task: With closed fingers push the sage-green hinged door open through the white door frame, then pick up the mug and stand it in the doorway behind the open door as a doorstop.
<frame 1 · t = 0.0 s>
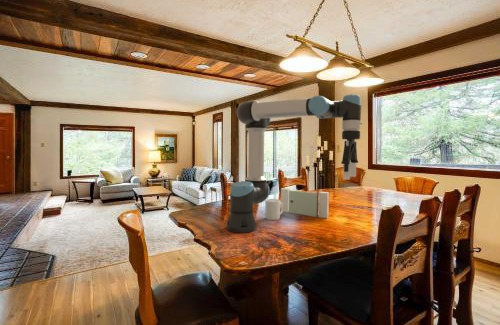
hand: (349, 178, 120), 28 cm above the table, fingers open, 13 cm apart
wall frame: (303, 214, 166), on the table
mug: (274, 218, 157), on the table
door: (302, 202, 163), point 8 cm above the table, hinge at 0.0°
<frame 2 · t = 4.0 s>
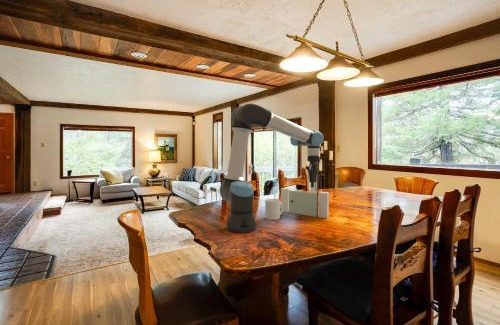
hand: (312, 192, 169), 13 cm above the table, fingers closed
nothing on the table moved.
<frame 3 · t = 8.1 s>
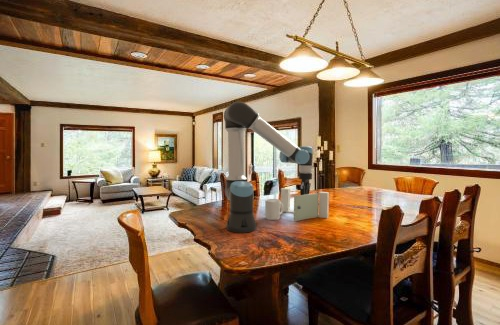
hand: (304, 211, 158), 3 cm above the table, fingers closed
door: (307, 206, 153), point 8 cm above the table, hinge at 65.2°, touching hand
everything else where it was.
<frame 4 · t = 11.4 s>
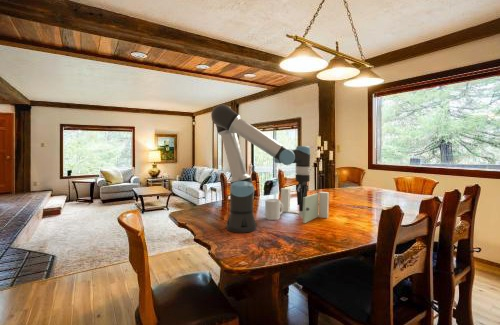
hand: (301, 216, 147), 3 cm above the table, fingers closed
door: (312, 207, 151), point 8 cm above the table, hinge at 84.6°, touching gripper
everything else where it was.
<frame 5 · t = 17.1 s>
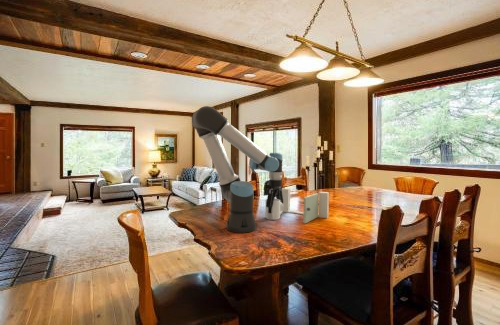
hand: (274, 216, 157), 1 cm above the table, fingers closed on mug, 10 cm apart
mug: (275, 218, 157), on the table, touching gripper
door: (312, 207, 151), point 8 cm above the table, hinge at 86.1°
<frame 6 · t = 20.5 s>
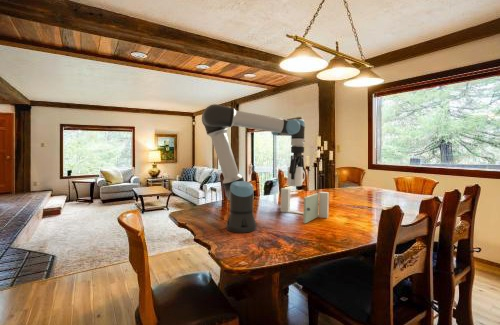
hand: (296, 183, 156), 20 cm above the table, fingers closed on mug, 10 cm apart
mug: (297, 185, 157), point 19 cm above the table, touching gripper
everything else where it was.
when the fingers open (3 cm above the table, at t = 24.1 s): mug drops 2 cm, on the table.
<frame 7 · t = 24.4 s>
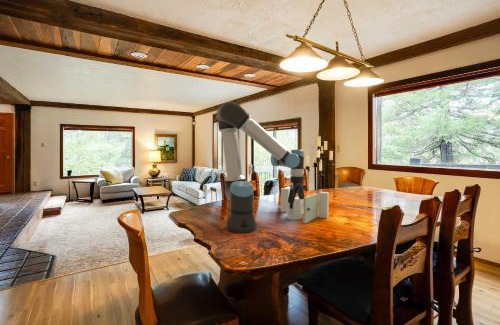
hand: (296, 211, 157), 4 cm above the table, fingers open, 13 cm apart
mug: (296, 218, 158), on the table
everything else where it was.
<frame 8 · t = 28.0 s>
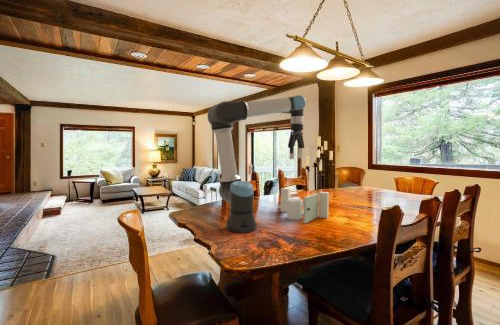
hand: (296, 158, 163), 35 cm above the table, fingers open, 13 cm apart
nothing on the table moved.
at the end: door at +86° (first picture: +0°); mug inside the target area (0.1 cm from its centre), on the table; mug tilted 0° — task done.
